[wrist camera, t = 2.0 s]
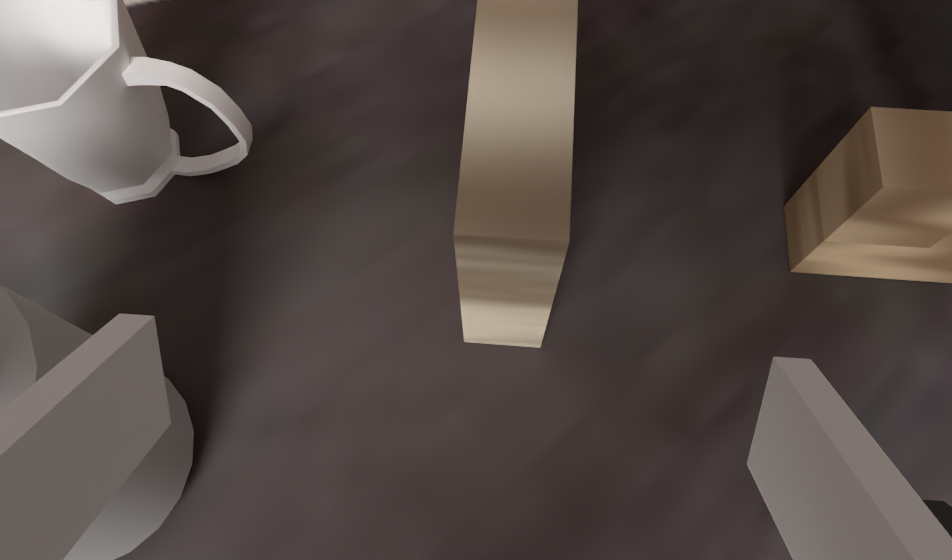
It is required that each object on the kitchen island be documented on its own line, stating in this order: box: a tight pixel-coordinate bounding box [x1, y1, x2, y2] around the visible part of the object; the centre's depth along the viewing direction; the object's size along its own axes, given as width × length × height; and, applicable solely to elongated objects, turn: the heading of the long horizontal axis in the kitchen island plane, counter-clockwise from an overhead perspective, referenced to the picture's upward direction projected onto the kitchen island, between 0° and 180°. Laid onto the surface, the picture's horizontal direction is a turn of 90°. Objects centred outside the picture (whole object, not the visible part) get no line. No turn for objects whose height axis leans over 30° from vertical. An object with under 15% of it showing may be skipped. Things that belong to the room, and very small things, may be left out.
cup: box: [0, 0, 253, 204], centre depth 26 cm, size 7×10×8 cm
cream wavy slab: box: [453, 0, 578, 348], centre depth 25 cm, size 12×3×10 cm, turn 176°
